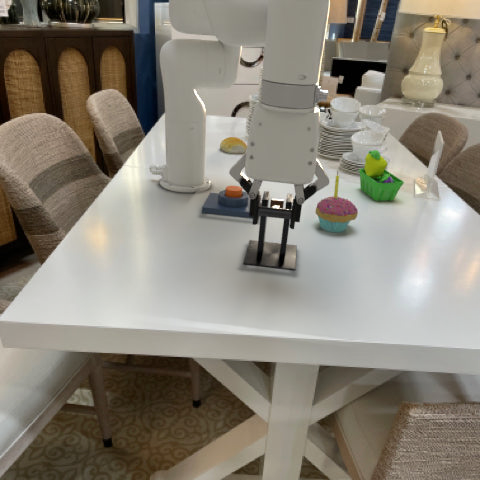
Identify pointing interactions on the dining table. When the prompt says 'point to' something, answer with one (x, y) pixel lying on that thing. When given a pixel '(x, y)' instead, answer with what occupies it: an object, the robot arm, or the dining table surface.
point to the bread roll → (233, 145)
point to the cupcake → (335, 211)
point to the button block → (227, 205)
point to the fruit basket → (378, 178)
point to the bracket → (272, 244)
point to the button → (233, 191)
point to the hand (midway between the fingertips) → (273, 222)
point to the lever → (275, 210)
